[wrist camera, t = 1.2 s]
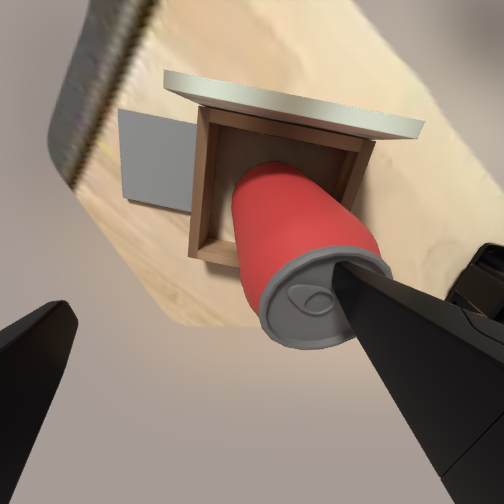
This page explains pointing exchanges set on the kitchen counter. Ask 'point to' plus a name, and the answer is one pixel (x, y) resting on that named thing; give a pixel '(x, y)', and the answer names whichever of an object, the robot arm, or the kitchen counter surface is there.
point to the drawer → (281, 125)
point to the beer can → (297, 255)
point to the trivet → (157, 159)
